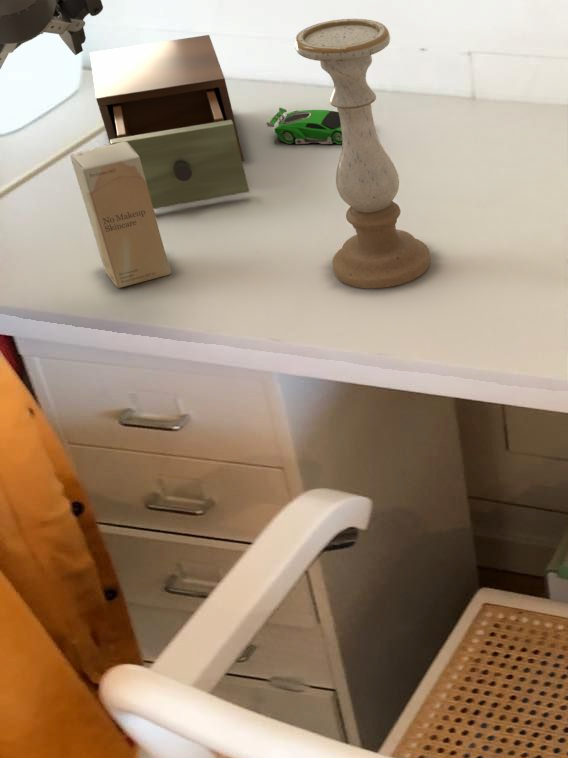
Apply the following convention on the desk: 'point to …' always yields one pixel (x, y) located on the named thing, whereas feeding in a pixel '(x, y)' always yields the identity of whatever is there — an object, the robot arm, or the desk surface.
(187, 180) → the drawer
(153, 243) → the box
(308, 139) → the toy car
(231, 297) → the desk surface
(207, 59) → the cabinet
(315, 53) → the candle holder
